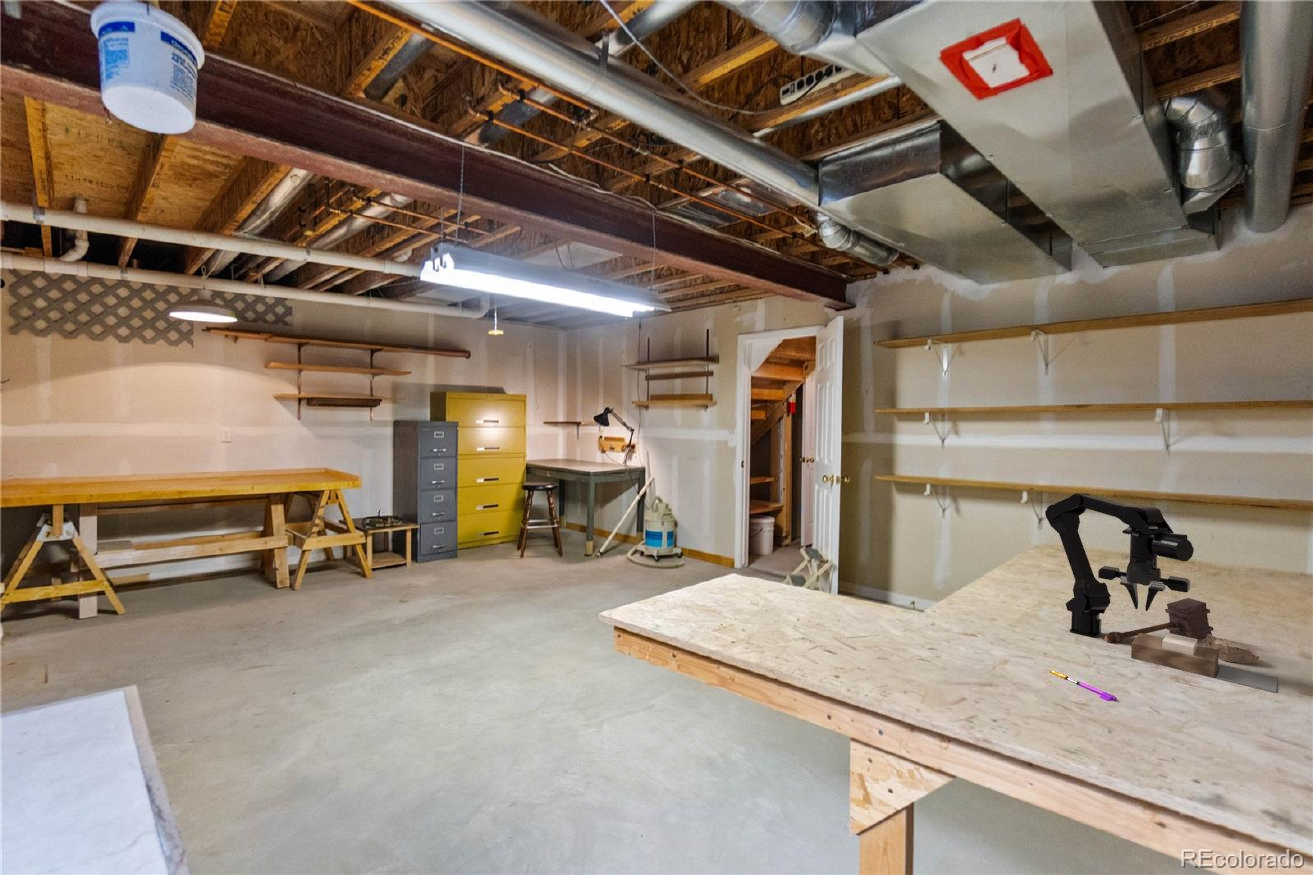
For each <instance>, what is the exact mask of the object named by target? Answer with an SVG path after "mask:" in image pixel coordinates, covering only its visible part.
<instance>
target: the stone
mask: <svg viewBox="0 0 1313 875" xmlns="http://www.w3.org/2000/svg"><path fill="white" fill-rule="evenodd" d="M1206 641H1207V642H1206V643H1207V645H1208V648H1213V649H1217V650H1219V659H1220V660H1222V661H1225V662H1228V663H1237V664H1244V665H1245V664H1246V665H1247V664H1248V665H1250V664H1255V663H1257V662H1258V661H1259V660H1260V655H1258V654H1257V652H1256V651H1255V650H1254V649H1252V648H1250V647H1248V646H1246V645H1243V644H1240V643H1235V642H1232V641H1229V640H1226V639H1223V638H1221V637H1217V636H1214V635H1213V634H1212V635H1210V634H1207V637H1206Z"/></svg>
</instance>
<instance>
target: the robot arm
mask: <svg viewBox="0 0 1313 875" xmlns="http://www.w3.org/2000/svg"><path fill="white" fill-rule="evenodd" d="M1086 510H1090V511H1093V512H1097V513H1100V514H1103V515H1106V516H1110V517H1114V518H1116V519H1118V520H1120V521H1121V522H1122V524H1125V525H1127V526H1128V527H1126V528H1125V529H1123V530H1122V534H1125V535H1130V538H1129V539H1130V540H1129V542H1130V543H1129V544H1130V545H1129V562H1128V564H1127V566H1126V571H1120V567H1114V566H1108V565H1103V566H1102V567H1100V568H1099V569H1098V572H1097V578H1099V579H1102V580H1107V581H1113V580H1115V579H1116V578H1117V579H1120V581H1119V585H1121V586H1124V587H1125V589H1126V590H1127V591H1128V594H1129V595H1130V599H1131V601H1132V604H1133V606H1134V609H1135V610H1138V609H1139V596H1138V595H1139V594H1138V585H1142V586H1148V590H1147V594H1146V600H1145V606H1144V607H1145V609H1144V610H1145V611H1146V612H1148V611H1149V609H1150V607H1151V605H1152V602H1153V600H1154V599H1155V598H1156V595H1157V594H1158V592H1164V591H1165V589H1166V586H1167V588H1168V589H1169V590H1171V591H1175V592H1181V593H1188V592H1189V591H1190V589H1191V581H1190V580H1189V579H1188V578H1187V577H1180V576H1173V575H1170V576H1169V577H1168V578H1164V577H1162V572H1161V568H1159V567H1158V557H1161V558H1167V559H1171V560H1175V561H1179V562H1189V561H1190V560H1191V558H1192V557H1193V555H1194V546H1193V544H1192V542H1191V541H1190V540H1189V539H1188V535H1187V534H1183V533H1175V532H1174V530H1173V528H1171V526H1170V525H1169V523H1168V522H1167V521H1166V519H1165V518H1164V516H1163V512H1162V511H1161V509H1159V508H1158V507H1155V506H1148V505H1147V506H1146V505H1132V504H1125V503H1122V502H1118V501H1115V500H1111V499H1108V498H1104V497H1100V496H1097V495H1092V494H1090V493H1087V492H1082V493H1081V492H1078V493H1073V494H1072V495H1069V497H1067V498H1065V499H1062V500H1060V501H1057V502H1056V503H1054V504H1050V505H1048V506H1047V507H1046V510H1045V511H1044V514H1045V515H1044V516H1045V517H1046V520H1047V522H1048V524H1049V525H1050V527H1051V528H1052V530H1053V529H1054V531H1055V532H1056V533H1058V535H1059V538H1060V540H1061V543H1062V547H1063V549H1064V552H1065V555H1066V558H1067V561H1068V564H1069V567H1070V569H1071V572H1072V576H1073V577H1074V584H1073V588H1072V593H1073V598H1071V599H1069V600H1068V601H1066V602H1065V606H1066V610H1067V612H1071V623H1070V624H1071V625H1070V627H1071V628H1070V629H1069V632H1070V633H1074V634H1079V635H1083V636H1089V637H1091V638H1097V637H1098V636H1099V635H1101V633H1102V620H1103V619H1102V618H1100V614H1105V612H1106V611H1107V608H1108V607H1109V605H1110V604H1111V597H1112V595H1111V594H1110V592H1109V589H1108V586H1107V584H1106V582H1100V581H1099V580H1098V579H1097V578H1096V577H1095V575H1094V571H1093V570H1092V566H1091V564H1090V561H1089V559H1088V555H1087V553H1086V549H1085V546H1084V543H1083V542H1082V538H1081V536H1080V533H1079V527H1080V524H1081V521H1080V520H1081V519H1080V516H1081V515H1083V514H1085V513H1086Z"/></svg>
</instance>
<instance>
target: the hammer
mask: <svg viewBox="0 0 1313 875" xmlns="http://www.w3.org/2000/svg"><path fill="white" fill-rule="evenodd" d="M1166 606H1167V608H1165V609H1164V610H1165V613H1166V614H1168V619H1169V621H1168V622H1165V623H1161V624H1157V625H1153V626H1147V627H1144V628H1139V629H1135V630H1130V631H1129V630H1128V631H1124V632H1119V631H1111V632H1109V633H1108V634H1106V635H1104V641H1105V642H1113V643H1119V642H1120V641H1124V640H1125V639H1128V638H1131V637H1137V636H1138V635H1139V633H1143V634H1150V633H1155V632H1158V631H1162V630H1168V631H1169V633H1170V634H1175V635H1180V636H1185V637H1189V638H1194V639H1198V642H1199V641H1203V640H1204V639H1206V637H1207V634H1210V635H1212V636H1213V633H1212V631H1214V627H1213V626H1210V623H1209V618H1208V614H1210V613H1211V609H1210V608H1208V607H1207V602H1205V601H1201V600H1197V599H1194V598H1190V597H1187V598H1183V599H1179V600H1176V601H1172V602H1168V603H1166Z"/></svg>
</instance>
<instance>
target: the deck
mask: <svg viewBox="0 0 1313 875" xmlns="http://www.w3.org/2000/svg"><path fill="white" fill-rule="evenodd" d="M1164 638H1165V637H1161V636H1157V635H1151V634H1149V633H1146V634H1143V633H1139V635H1137V636H1135V639H1134V640H1133V641H1132V642H1131V649H1130V650H1131V655H1130V659H1134V660H1139V661H1142V662H1146V663H1151V664H1154V665H1158V666H1164V667H1166V668H1167V667H1168V668H1172V669H1176V670H1180V671H1185V672H1189V673H1191V674H1196V675H1200V676H1204V677H1208V678H1213V679H1214V678H1215V676H1216V673H1217V671H1218V667H1219V660H1220V658H1219V650H1217V649H1213V648H1209V646H1208V647H1207V646H1204V645H1198V644H1197V649H1196V651H1195V653H1194V655H1189V654H1185V653H1180V652H1176V651H1171V650H1167V649H1163V648H1162V641H1163V639H1164Z"/></svg>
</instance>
